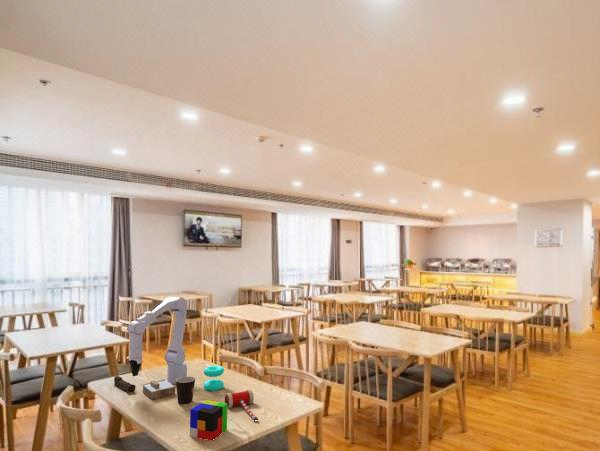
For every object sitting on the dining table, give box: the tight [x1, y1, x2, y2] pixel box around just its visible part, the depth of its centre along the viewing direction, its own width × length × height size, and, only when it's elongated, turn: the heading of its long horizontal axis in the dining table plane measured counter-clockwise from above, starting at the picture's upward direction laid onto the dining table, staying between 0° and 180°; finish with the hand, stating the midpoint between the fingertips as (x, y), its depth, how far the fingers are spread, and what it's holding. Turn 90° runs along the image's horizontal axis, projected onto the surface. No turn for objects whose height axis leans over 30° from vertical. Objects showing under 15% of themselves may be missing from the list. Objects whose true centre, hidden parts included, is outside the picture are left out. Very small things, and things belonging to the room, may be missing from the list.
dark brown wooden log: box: [113, 375, 137, 394], centre depth 202 cm, size 19×4×5 cm, turn 46°
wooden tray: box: [142, 379, 177, 401], centre depth 194 cm, size 11×13×4 cm
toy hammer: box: [224, 388, 259, 422], centre depth 174 cm, size 23×12×6 cm, turn 29°
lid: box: [142, 379, 175, 393], centre depth 194 cm, size 11×11×3 cm
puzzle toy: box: [189, 399, 228, 441], centre depth 154 cm, size 10×10×10 cm
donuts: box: [203, 365, 225, 392], centre depth 202 cm, size 10×10×10 cm
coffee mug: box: [175, 375, 196, 405], centre depth 183 cm, size 12×9×10 cm
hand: (135, 375), depth 192 cm, fingers closed
